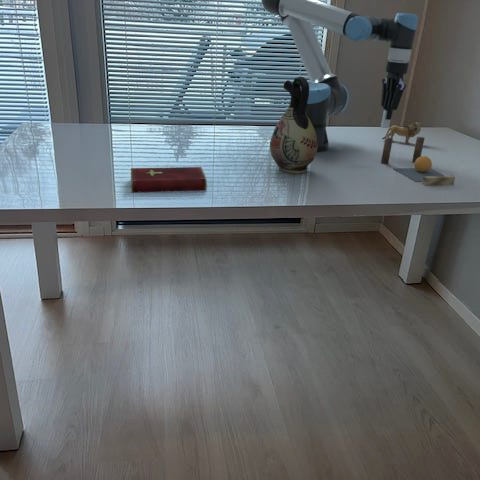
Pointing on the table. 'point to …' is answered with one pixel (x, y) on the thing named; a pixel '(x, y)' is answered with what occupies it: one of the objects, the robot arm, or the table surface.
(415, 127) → the lion figurine
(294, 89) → the ceramic jug
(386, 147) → the left post
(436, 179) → the rail
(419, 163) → the ball
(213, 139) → the table surface
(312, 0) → the robot arm
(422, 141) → the right post
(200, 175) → the hardcover book
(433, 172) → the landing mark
